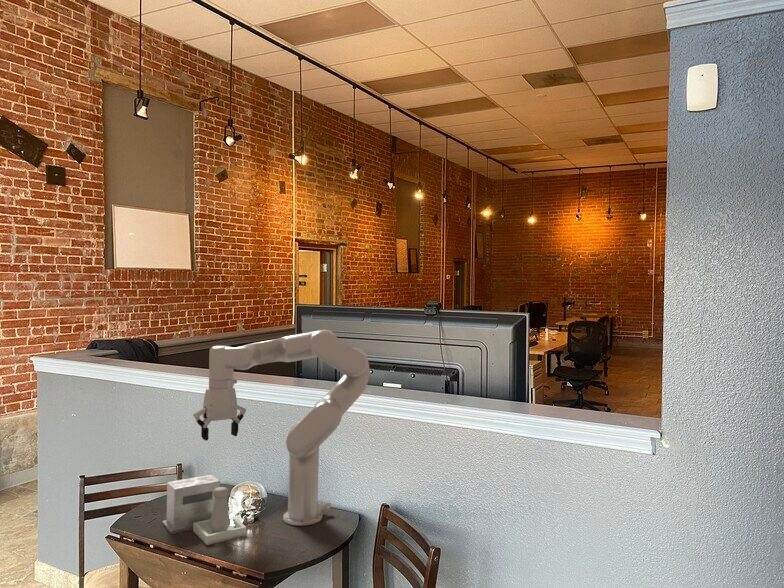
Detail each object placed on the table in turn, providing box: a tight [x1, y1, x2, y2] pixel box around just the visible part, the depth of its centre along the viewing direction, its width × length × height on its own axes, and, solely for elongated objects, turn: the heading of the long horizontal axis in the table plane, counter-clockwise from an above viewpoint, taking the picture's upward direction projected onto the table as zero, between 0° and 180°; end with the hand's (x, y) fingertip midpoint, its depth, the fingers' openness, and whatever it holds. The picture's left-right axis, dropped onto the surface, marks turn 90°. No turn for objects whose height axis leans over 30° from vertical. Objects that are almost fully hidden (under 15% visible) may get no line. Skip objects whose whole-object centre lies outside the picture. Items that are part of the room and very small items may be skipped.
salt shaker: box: [210, 486, 230, 533], centre depth 170 cm, size 6×6×13 cm
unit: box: [161, 474, 221, 535], centre depth 178 cm, size 16×10×13 cm, turn 127°
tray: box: [192, 518, 247, 546], centre depth 170 cm, size 12×12×2 cm
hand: (219, 437), depth 181 cm, fingers open, 9 cm apart
